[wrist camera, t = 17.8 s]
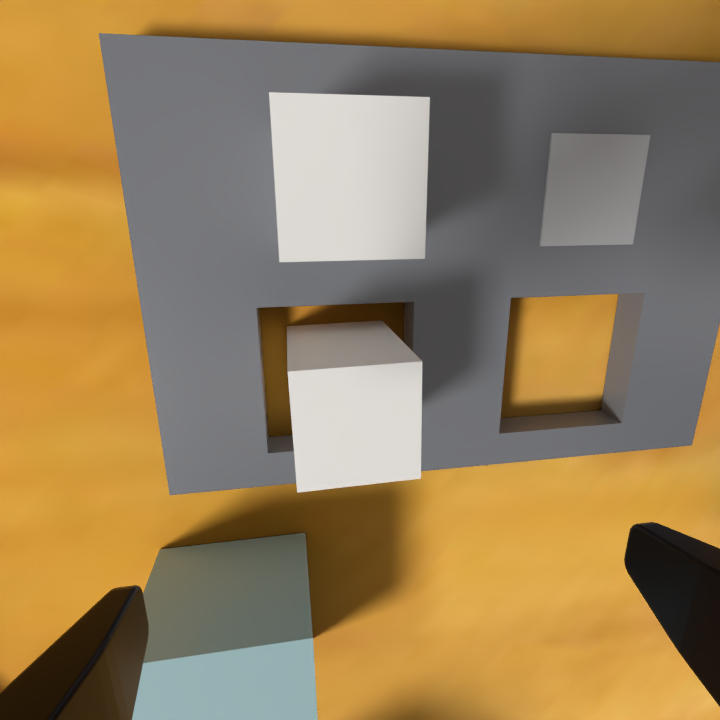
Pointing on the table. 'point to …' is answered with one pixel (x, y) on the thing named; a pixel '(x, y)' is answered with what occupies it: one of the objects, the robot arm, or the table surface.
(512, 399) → the table surface
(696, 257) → the pin board
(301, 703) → the housing
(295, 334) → the white rectangular prism
